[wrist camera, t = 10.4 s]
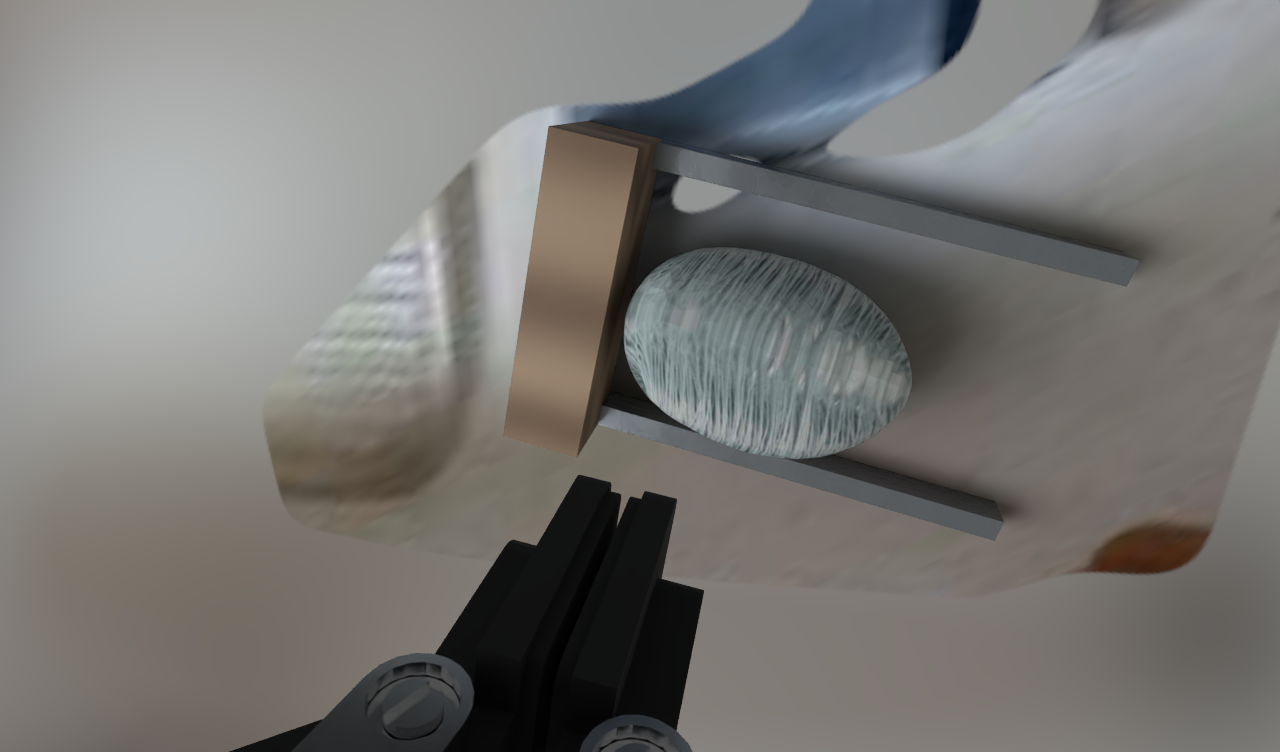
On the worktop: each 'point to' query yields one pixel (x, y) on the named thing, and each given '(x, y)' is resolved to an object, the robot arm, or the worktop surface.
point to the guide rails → (891, 213)
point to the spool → (765, 353)
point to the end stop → (578, 281)
